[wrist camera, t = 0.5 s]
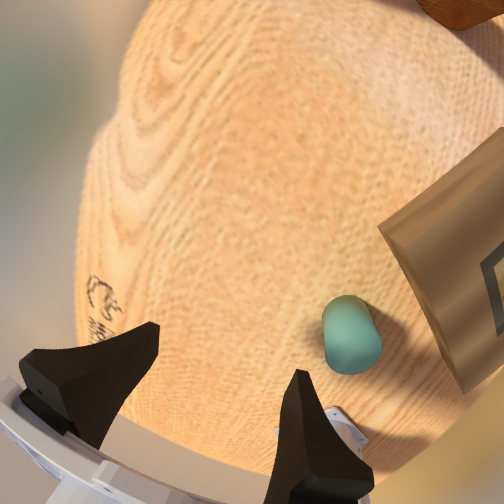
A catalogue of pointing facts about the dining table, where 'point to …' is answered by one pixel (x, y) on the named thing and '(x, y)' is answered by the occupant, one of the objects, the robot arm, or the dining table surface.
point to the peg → (350, 336)
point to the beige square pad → (500, 276)
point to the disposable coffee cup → (462, 11)
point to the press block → (458, 260)
